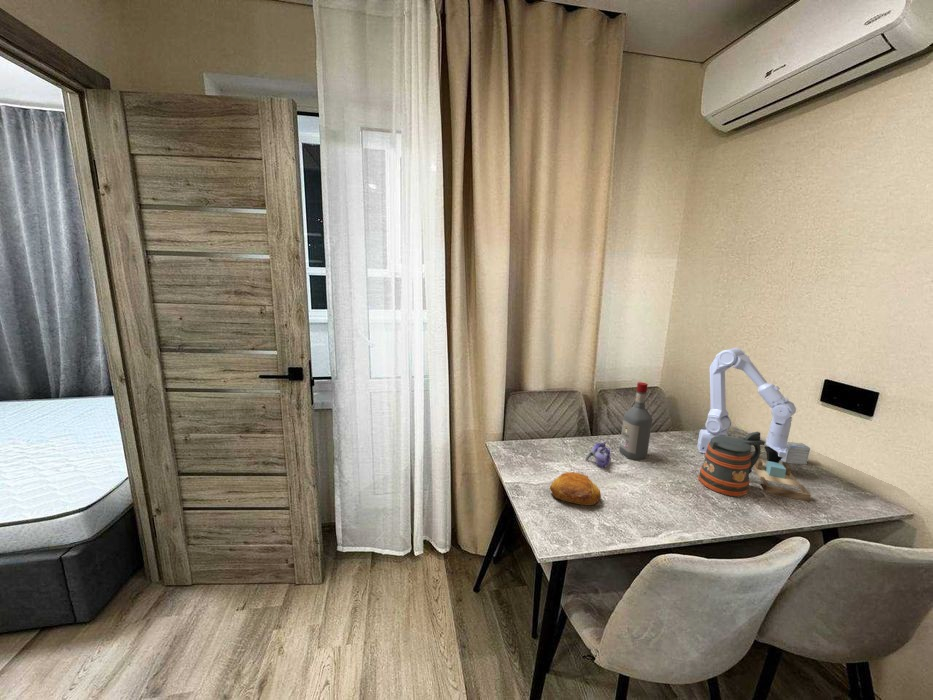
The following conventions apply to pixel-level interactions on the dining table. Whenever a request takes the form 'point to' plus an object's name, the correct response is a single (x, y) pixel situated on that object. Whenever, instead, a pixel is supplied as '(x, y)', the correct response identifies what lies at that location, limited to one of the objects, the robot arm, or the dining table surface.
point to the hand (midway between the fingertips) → (771, 466)
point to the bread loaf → (575, 489)
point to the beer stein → (730, 463)
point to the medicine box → (796, 453)
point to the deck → (788, 479)
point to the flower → (600, 455)
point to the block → (775, 469)
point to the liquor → (636, 427)
